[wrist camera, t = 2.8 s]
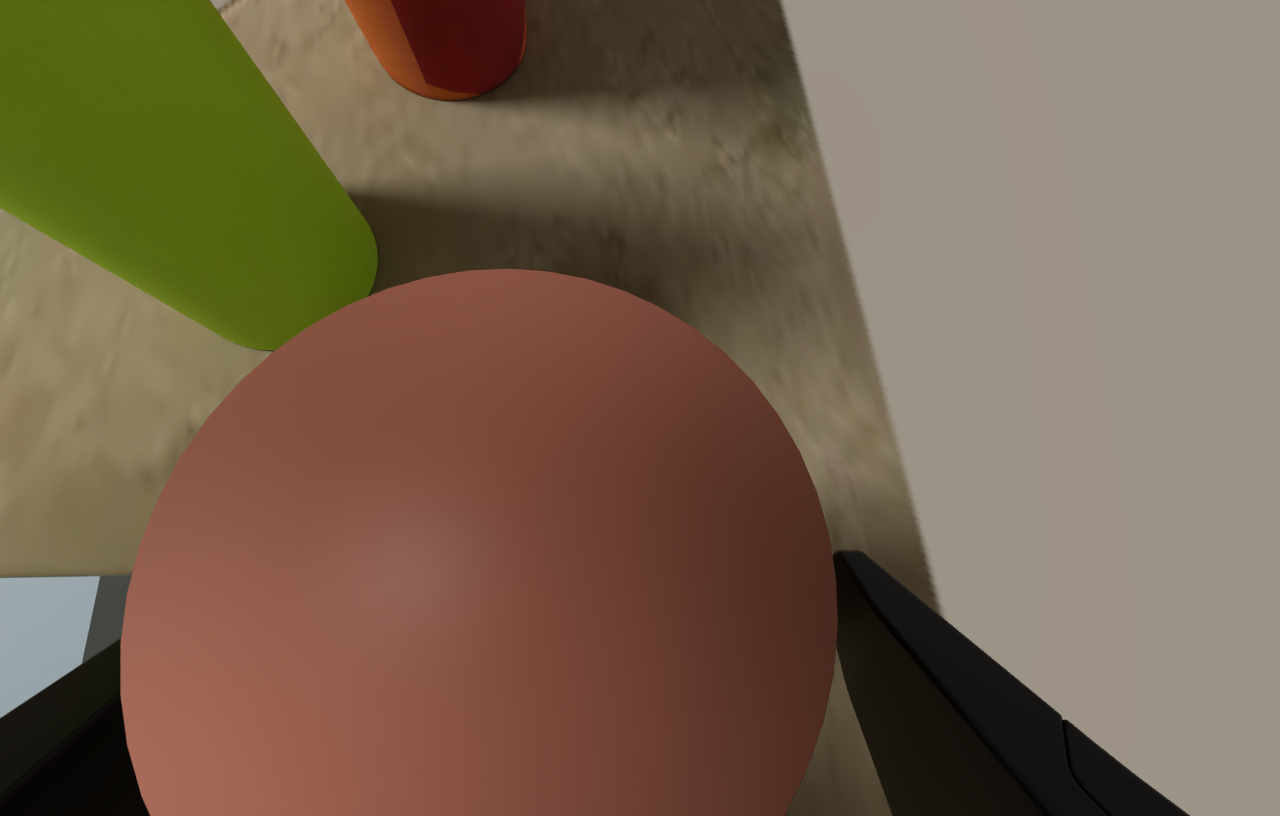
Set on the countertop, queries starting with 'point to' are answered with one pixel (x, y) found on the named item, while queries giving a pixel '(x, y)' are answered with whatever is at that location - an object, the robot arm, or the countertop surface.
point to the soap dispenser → (174, 165)
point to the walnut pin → (483, 572)
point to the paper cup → (445, 43)
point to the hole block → (54, 628)
